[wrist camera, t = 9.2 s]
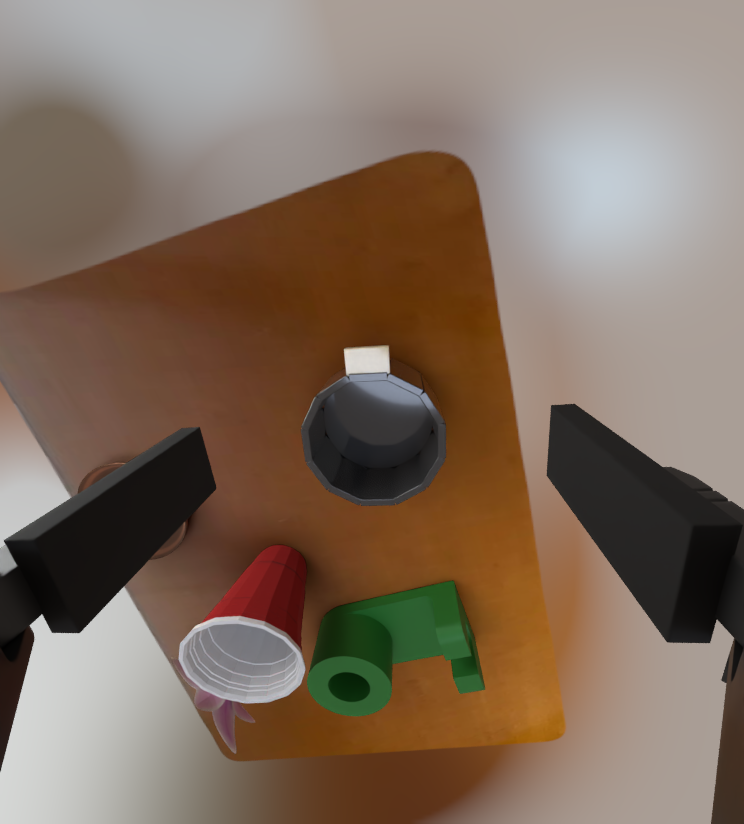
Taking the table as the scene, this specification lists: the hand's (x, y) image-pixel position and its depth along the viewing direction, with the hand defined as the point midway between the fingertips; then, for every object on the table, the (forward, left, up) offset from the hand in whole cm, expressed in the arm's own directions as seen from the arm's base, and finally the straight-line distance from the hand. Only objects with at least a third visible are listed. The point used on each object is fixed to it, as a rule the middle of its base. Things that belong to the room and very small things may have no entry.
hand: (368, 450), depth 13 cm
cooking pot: (+2, +5, -19) cm, 20 cm away
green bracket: (+5, +32, -21) cm, 39 cm away
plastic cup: (+16, +22, -21) cm, 34 cm away
